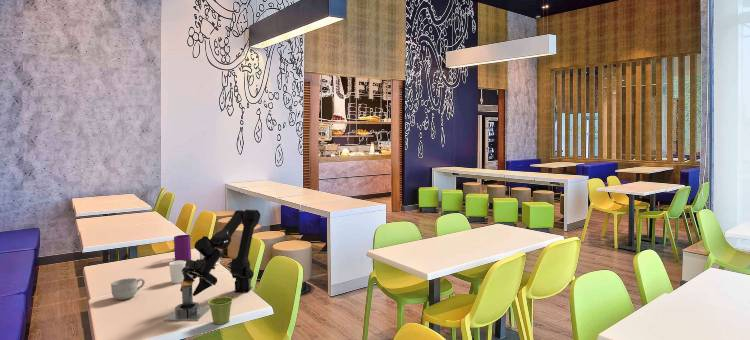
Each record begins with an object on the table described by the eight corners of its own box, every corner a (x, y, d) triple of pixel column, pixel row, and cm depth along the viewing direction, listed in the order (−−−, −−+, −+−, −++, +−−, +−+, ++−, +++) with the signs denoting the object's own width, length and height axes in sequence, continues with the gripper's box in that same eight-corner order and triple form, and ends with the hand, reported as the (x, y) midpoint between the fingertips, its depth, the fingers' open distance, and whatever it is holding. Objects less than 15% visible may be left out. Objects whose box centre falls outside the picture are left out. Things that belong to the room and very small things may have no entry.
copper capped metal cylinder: (195, 310, 199) (194, 280, 198) (190, 314, 195) (189, 283, 194) (185, 310, 199) (183, 280, 198) (180, 314, 195) (179, 283, 194)
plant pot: (206, 320, 190) (205, 299, 190) (230, 315, 195) (229, 295, 194) (211, 328, 182) (210, 306, 181) (236, 323, 187) (235, 301, 186)
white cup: (180, 284, 237) (179, 264, 236) (166, 283, 239) (165, 264, 238) (189, 279, 245) (189, 260, 244) (176, 278, 246) (175, 260, 246)
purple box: (176, 264, 275) (175, 238, 274) (171, 258, 288) (170, 234, 287) (193, 261, 280) (192, 236, 279) (186, 256, 293) (185, 232, 292)
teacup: (111, 303, 211) (110, 285, 211) (112, 296, 221) (111, 279, 220) (145, 298, 218) (144, 281, 217) (145, 291, 227) (144, 275, 227)
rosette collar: (210, 307, 204) (210, 300, 203) (197, 320, 190) (197, 312, 189) (178, 307, 204) (178, 300, 204) (163, 320, 190) (162, 312, 190)
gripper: (184, 248, 205) (161, 279, 197) (209, 254, 194) (186, 288, 186) (201, 261, 212) (179, 292, 204) (226, 268, 201) (205, 301, 193)
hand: (187, 293), depth 196 cm, fingers open, 9 cm apart
